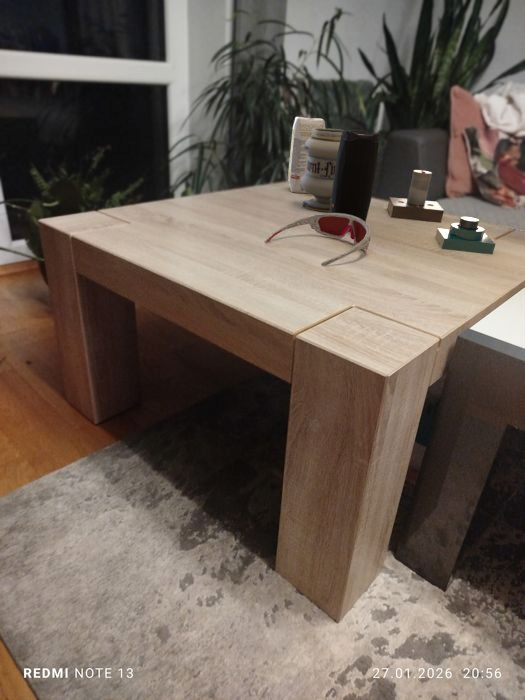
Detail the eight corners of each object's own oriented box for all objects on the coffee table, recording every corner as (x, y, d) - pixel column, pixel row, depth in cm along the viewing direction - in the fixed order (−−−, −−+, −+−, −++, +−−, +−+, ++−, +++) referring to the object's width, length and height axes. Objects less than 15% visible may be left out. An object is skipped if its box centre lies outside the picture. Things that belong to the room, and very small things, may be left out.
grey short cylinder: (474, 227, 104) (476, 217, 103) (478, 232, 101) (481, 222, 100) (456, 225, 104) (459, 215, 103) (460, 230, 101) (462, 220, 100)
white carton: (318, 194, 140) (328, 120, 131) (288, 192, 139) (295, 117, 130) (315, 189, 146) (323, 118, 137) (286, 187, 146) (292, 115, 137)
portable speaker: (329, 230, 107) (343, 131, 98) (325, 219, 115) (337, 127, 106) (369, 233, 107) (386, 135, 98) (362, 222, 116) (377, 130, 106)
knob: (405, 200, 126) (412, 168, 123) (423, 202, 126) (430, 169, 122) (407, 204, 122) (414, 170, 119) (426, 206, 122) (433, 172, 118)
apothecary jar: (289, 202, 129) (296, 126, 120) (327, 200, 134) (337, 127, 125) (314, 214, 119) (325, 132, 111) (355, 211, 125) (367, 133, 116)
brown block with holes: (433, 213, 130) (436, 201, 128) (441, 223, 121) (444, 209, 119) (387, 208, 131) (389, 196, 129) (390, 217, 122) (393, 204, 120)
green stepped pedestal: (482, 243, 107) (487, 224, 105) (492, 254, 100) (498, 234, 98) (434, 238, 108) (439, 219, 106) (441, 249, 101) (446, 229, 99)
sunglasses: (387, 251, 96) (389, 226, 93) (326, 282, 87) (326, 256, 84) (321, 229, 107) (321, 205, 104) (261, 254, 98) (259, 230, 95)
